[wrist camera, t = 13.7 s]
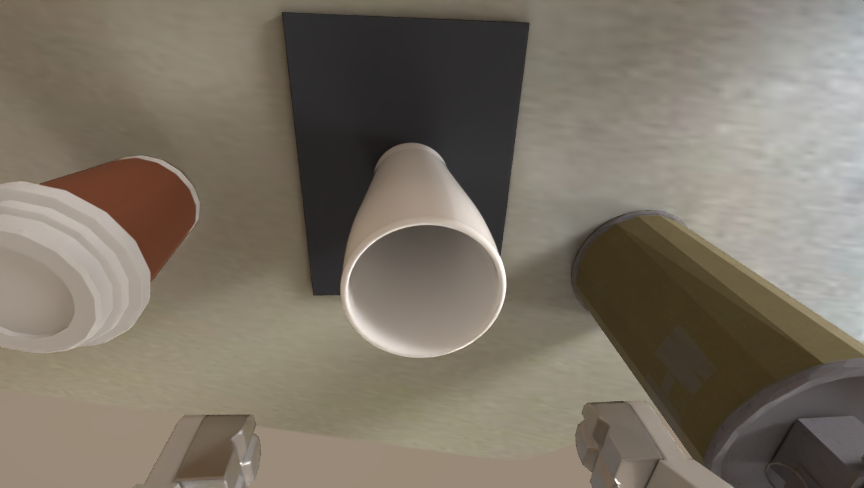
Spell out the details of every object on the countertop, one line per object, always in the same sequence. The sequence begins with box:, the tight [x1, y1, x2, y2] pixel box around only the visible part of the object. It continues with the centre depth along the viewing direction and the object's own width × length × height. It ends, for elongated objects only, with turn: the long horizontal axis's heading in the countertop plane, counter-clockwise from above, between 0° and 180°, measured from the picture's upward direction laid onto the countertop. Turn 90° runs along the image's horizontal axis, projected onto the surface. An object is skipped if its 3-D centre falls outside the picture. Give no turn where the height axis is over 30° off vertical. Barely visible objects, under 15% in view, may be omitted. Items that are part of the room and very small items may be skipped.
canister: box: [572, 211, 864, 488], centre depth 26 cm, size 11×10×20 cm
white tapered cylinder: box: [340, 143, 506, 358], centre depth 23 cm, size 7×7×15 cm
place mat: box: [282, 12, 530, 295], centre depth 30 cm, size 20×15×1 cm
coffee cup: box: [0, 155, 200, 354], centre depth 24 cm, size 9×9×12 cm
